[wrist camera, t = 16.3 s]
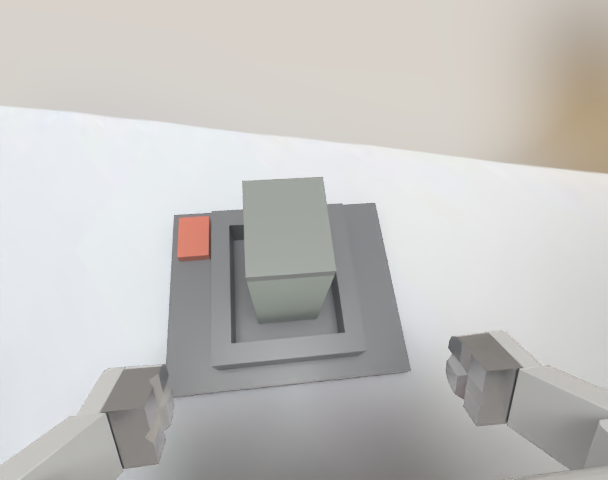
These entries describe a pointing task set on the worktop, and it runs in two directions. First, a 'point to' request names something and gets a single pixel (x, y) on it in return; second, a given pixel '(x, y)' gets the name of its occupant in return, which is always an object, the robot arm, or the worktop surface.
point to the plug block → (287, 248)
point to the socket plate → (284, 335)
